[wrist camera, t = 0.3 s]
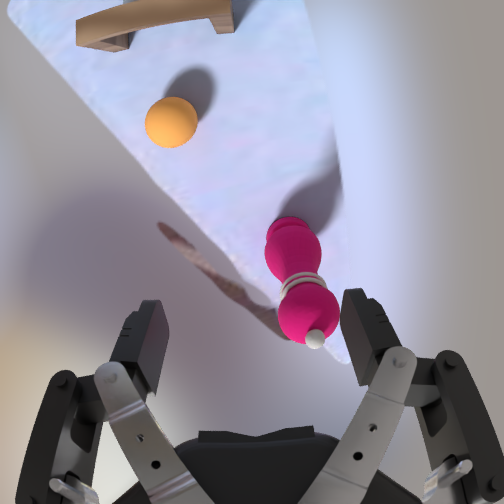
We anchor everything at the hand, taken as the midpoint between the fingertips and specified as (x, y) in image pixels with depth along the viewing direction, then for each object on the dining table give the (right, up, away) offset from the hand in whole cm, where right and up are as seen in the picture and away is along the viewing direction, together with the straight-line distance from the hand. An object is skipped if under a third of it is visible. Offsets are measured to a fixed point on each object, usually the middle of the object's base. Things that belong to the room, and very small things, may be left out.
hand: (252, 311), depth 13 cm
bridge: (-10, +29, +14) cm, 34 cm away
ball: (-9, +17, +18) cm, 26 cm away
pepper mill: (+5, +5, +29) cm, 30 cm away
